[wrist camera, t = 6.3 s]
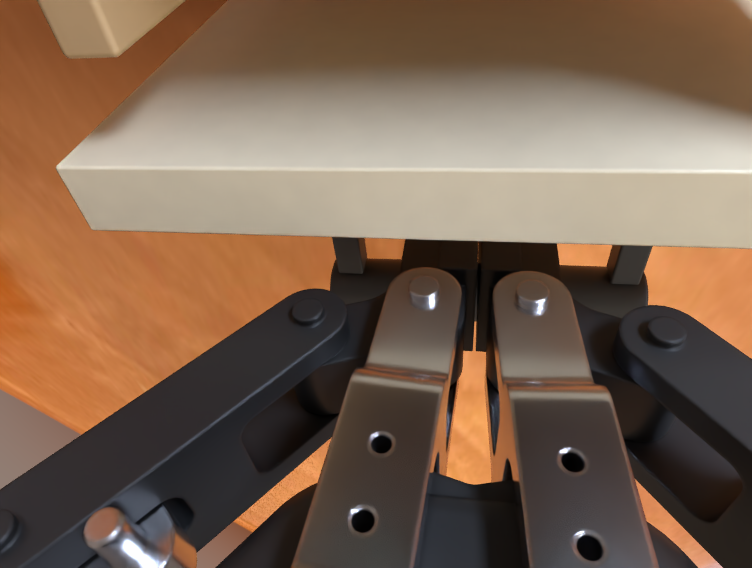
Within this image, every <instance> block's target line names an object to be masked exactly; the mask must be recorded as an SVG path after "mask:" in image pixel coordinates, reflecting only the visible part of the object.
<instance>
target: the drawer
mask: <svg viewBox="0 0 752 568" xmlns="http://www.w3.org/2000/svg"><path fill="white" fill-rule="evenodd" d="M185 1H186V0H37V2H38V4H39V6H40V8H41V10H42V12H43V14H44V16H45V18H46V20H47V22H48V24H49V26H50V28H51V30H52V32H53V34H54V36H55V38H56V40H57V42H58V44H59V46H60V48H61V50H62V52H63V54H64V55H65V56H66V57H67V58H70V59H77V58H108V57H118V56H120V55H121V54H122V53H123V52H125V51H126V50H127V49H128V48H129V47H131V46H132V45H133V44H134V43H135V42H137V41H138V40H139V39H140V38H141V37H143V36H144V35H145V34H146V33H147V32H149V31H150V30H151V29H152V28H153V27H155V26H156V25H157V24H158V23H159V22H161V21H162V20H163V19H164V18H165V17H167V16H168V15H169V14H170V13H171V12H173V11H174V10H175V9H176V8H177V7H179V6H180V5H181V4H182V3H183V2H185ZM56 170H57V172H58V173H59V175H60V177H61V178H62V180H63V182H64V184H65V185H66V187H67V189H68V190H69V192H70V194H71V195H72V197H73V199H74V201H75V202H76V204H77V206H78V207H79V209H80V211H81V213H82V214H83V216H84V218H85V219H86V221H87V223H88V224H89V226H90V228H91V229H92V230H103V231H138V232H174V233H209V234H244V235H280V236H315V237H332V239H333V244H334V250H335V255H336V261H335V263H334V266H333V269H332V274H331V282H330V291H331V292H333V293H335V294H337V295H338V296H339V297H340V298H341V299H342V300H343V301H344V303H345V305H346V304H351V303H356V302H361V301H365V300H369V299H372V298H375V297H377V296H379V295H381V294H383V293H385V292H386V291H387V290H388V287H389V285H390V283H391V282H392V280H393V279H394V278H395V277H396V276H398V275H399V273H400V268H401V262H402V260H397V259H368V258H367V253H366V246H365V238H386V239H421V240H456V241H492V242H527V243H562V244H598V245H612V249H611V252H610V256H609V259H608V263H607V267H597V266H568V265H560V272H561V279H562V283H563V284H564V285H565V286H566V287H567V289H568V290H569V292H570V294H571V296H572V297H573V298H574V299H575V300H576V301H578V302H579V303H581V304H582V305H584V306H586V307H588V308H590V309H593V310H596V311H598V312H602V313H605V314H609V315H612V316H616V317H619V318H623V317H624V316H625V314H626V313H628V312H629V311H631V310H633V309H635V308H637V307H641V306H648V285H647V280H646V276H645V274H644V269H645V266H646V263H647V261H648V258H649V255H650V252H651V249H652V246H668V247H704V248H739V249H752V0H228V1H226V2H225V3H224V4H223V5H222V6H221V7H220V8H219V9H218V10H217V11H216V12H215V13H214V14H213V15H212V16H211V17H210V18H209V19H208V20H207V21H206V22H205V23H204V24H203V25H202V26H201V27H200V28H199V29H198V30H196V31H195V32H194V33H193V34H192V35H191V36H190V37H189V38H188V39H187V40H186V41H185V42H184V43H183V44H182V45H181V46H180V47H179V48H178V49H177V50H176V51H175V52H174V53H173V54H172V55H171V56H170V57H169V58H168V59H167V60H165V61H164V62H163V63H162V64H161V65H160V66H159V67H158V68H157V69H156V70H155V71H154V72H153V73H152V74H151V75H150V76H149V77H148V78H147V79H146V80H145V81H144V82H143V83H142V84H141V85H140V86H139V87H138V88H137V89H135V90H134V91H133V92H132V93H131V94H130V95H129V96H128V97H127V98H126V99H125V100H124V101H123V102H122V103H121V104H120V105H119V106H118V107H117V108H116V109H115V110H114V111H113V112H112V113H111V114H110V115H109V116H108V117H107V118H106V119H104V120H103V121H102V122H101V123H100V124H99V125H98V126H97V127H96V128H95V129H94V130H93V131H92V132H91V133H90V134H89V135H88V136H87V137H86V138H85V139H84V140H83V141H82V142H81V143H80V144H79V145H78V146H77V147H76V148H74V149H73V150H72V151H71V152H70V153H69V154H68V155H67V156H66V157H65V158H64V159H63V160H62V161H61V162H60V163H59V164H58V165H57V166H56ZM477 281H478V267H477ZM474 321H477V285H476V302H475V319H474Z"/></svg>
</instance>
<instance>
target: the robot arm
mask: <svg viewBox="0 0 752 568" xmlns="http://www.w3.org/2000/svg"><path fill="white" fill-rule="evenodd" d="M477 267H478V281H477ZM476 285H477V322H476V351H482V352H486V373H485V397H486V409H487V421H488V433H489V445H490V457H491V483H485V484H478V485H472V484H467V483H464V482H461V481H458V480H455V479H453V478H450V477H447V476H446V472H447V462H448V455H449V448H450V441H451V434H452V427H453V420H454V413H455V406H456V399H457V392H458V385H459V377H460V375H461V372H462V367H463V351H473V335H474V319H475V302H476ZM331 437H332V439H331V442H330V445H329V448H328V451H327V454H326V458H325V461H324V464H323V467H322V470H321V474H320V477H319V480H318V483H316V484H314V485H311V486H310V487H308V488H306V489H304V490H302V491H301V492H299V493H297V494H296V495H295V496H293V497H292V498H291V499H289V500H288V501H286V502H285V503H284V504H283V505H282V506H281V507H279V508H278V509H277V510H276V511H275V512H274V513H273V514H272V515H271V516H270V517H269V518H268V519H267V520H266V521H264V522H263V523H262V524H261V525H260V526H259V527H258V528H257V529H256V530H255V531H254V532H253V533H252V534H251V535H250V536H249V537H248V538H247V539H246V540H244V541H243V542H242V544H240V545H239V546H238V547H237V548H236V549H235V550H234V551H233V552H232V553H231V554H229V555H228V556H227V557H226V558H225V559H224V560H223V561H222V562H221V563H220V564H219V565H218V566H217V567H216V568H698V567H697V566H696V565H695V564H694V563H693V562H692V561H691V560H690V558H689V557H688V556H687V555H686V554H685V553H684V552H683V551H682V550H681V549H680V548H679V547H678V546H677V545H676V544H675V543H673V542H672V541H671V540H670V539H669V538H668V537H667V536H666V535H665V534H663V533H662V532H661V531H659V530H658V529H657V528H655V527H654V526H652V525H651V524H650V523H648V522H647V521H646V518H645V515H644V511H643V507H642V504H641V500H640V497H639V493H638V489H637V486H636V482H635V479H636V480H637V481H638V482H639V483H640V484H641V485H642V486H643V487H644V488H645V489H646V490H647V491H648V492H649V493H650V494H651V495H652V496H653V497H654V498H655V499H656V500H657V501H658V502H659V503H660V504H661V505H662V506H663V507H664V508H665V509H666V510H667V511H668V512H669V513H670V514H671V516H672V517H673V518H674V519H675V520H676V521H677V522H678V523H679V524H680V525H681V526H682V527H683V528H684V529H685V530H686V531H687V532H688V533H689V534H690V535H691V536H692V537H693V538H694V539H695V540H696V541H697V542H698V543H699V544H700V545H701V546H702V547H703V548H704V549H705V550H706V551H707V552H708V553H709V554H710V555H711V556H712V557H713V558H714V559H715V560H716V561H717V562H718V563H719V564H720V565H721V566H722V567H723V568H752V359H751V358H749V357H748V356H747V355H745V354H744V353H742V352H741V351H739V350H738V349H737V348H735V347H734V346H732V345H731V344H729V343H728V342H727V341H725V340H724V339H722V338H721V337H720V336H718V335H717V334H715V333H714V332H712V331H711V330H710V329H708V328H707V327H705V326H704V325H703V324H701V323H700V322H698V321H697V320H695V319H694V318H692V317H691V316H689V315H688V314H686V313H684V312H681V311H679V310H676V309H673V308H670V307H666V306H658V305H648V306H641V307H637V308H635V309H633V310H631V311H629V312H628V313H626V314H625V316H624V317H623V318H619V317H616V316H612V315H609V314H605V313H602V312H598V311H596V310H593V309H590V308H588V307H586V306H584V305H582V304H581V303H579V302H578V301H576V300H575V299H574V298H573V297H572V296H571V294H570V292H569V290H568V289H567V287H566V286H565V285H564V284H563V283H562V279H561V272H560V265H559V257H558V250H557V243H527V242H492V241H456V240H421V239H405V245H404V251H403V256H402V262H401V268H400V273H399V275H398V276H396V277H395V278H394V279H393V280H392V282H391V283H390V285H389V287H388V290H387V291H386V292H385V293H383V294H381V295H379V296H377V297H375V298H372V299H369V300H365V301H361V302H356V303H351V304H346V305H345V303H344V301H343V300H342V299H341V298H340V297H339V296H338V295H337V294H335V293H333V292H331V291H328V290H324V289H307V290H302V291H299V292H296V293H294V294H292V295H290V296H288V297H286V298H285V299H283V300H282V301H281V302H279V303H278V304H276V305H275V306H273V307H272V308H270V309H269V310H267V311H266V312H264V313H263V314H261V315H260V316H258V317H257V318H255V319H254V320H252V321H251V322H249V323H248V324H246V325H245V326H243V327H242V328H240V329H239V330H237V331H236V332H234V333H233V334H231V335H230V336H228V337H227V338H225V339H224V340H222V341H221V342H219V343H218V344H216V345H215V346H213V347H212V348H210V349H209V350H207V351H206V352H204V353H203V354H201V355H200V356H198V357H197V358H196V359H194V360H193V361H191V362H190V363H188V364H187V365H185V366H184V367H182V368H181V369H179V370H178V371H176V372H175V373H173V374H172V375H170V376H169V377H167V378H166V379H164V380H163V381H161V382H160V383H158V384H157V385H155V386H154V387H152V388H151V389H149V390H148V391H146V392H145V393H143V394H142V395H140V396H139V397H137V398H136V399H134V400H133V401H131V402H130V403H128V404H127V405H125V406H124V407H122V408H121V409H119V410H118V411H116V412H115V413H113V414H112V415H111V416H109V417H108V418H106V419H105V420H103V421H102V422H100V423H99V424H97V425H96V426H94V427H93V428H91V429H90V430H88V431H87V432H85V433H84V434H82V435H81V436H79V437H78V438H76V439H75V440H73V441H72V442H71V443H69V444H67V445H66V446H65V447H63V448H61V449H60V450H58V451H57V452H55V453H54V454H52V455H51V456H49V457H48V458H46V459H45V460H44V461H42V462H40V463H39V464H37V465H36V466H34V467H33V468H31V469H30V470H28V471H27V472H26V473H24V474H23V475H21V476H20V477H18V478H17V479H15V480H14V481H12V482H11V483H9V484H8V485H6V486H5V487H3V488H2V489H1V490H0V568H196V566H197V554H196V553H197V552H198V551H199V550H200V549H201V548H203V547H204V546H205V545H206V544H207V543H209V542H210V541H211V540H212V539H213V538H214V537H216V536H217V535H218V534H219V533H220V532H221V531H222V530H224V529H225V528H226V527H227V526H228V525H230V524H231V523H232V522H233V521H234V520H235V519H237V518H238V517H239V516H240V515H241V514H242V513H244V512H245V511H246V510H247V509H248V508H249V507H251V506H252V505H253V504H254V503H255V502H256V501H258V500H259V499H260V498H261V497H262V496H263V495H265V494H266V493H267V492H268V491H269V490H270V489H272V488H273V487H274V486H275V485H276V484H277V483H279V482H280V481H281V480H282V479H283V478H284V477H286V476H287V475H288V474H289V473H290V472H291V471H293V470H294V469H295V468H296V467H297V466H298V465H300V464H301V463H302V462H303V461H304V460H305V459H307V458H308V457H309V456H310V455H311V454H312V453H314V452H315V451H316V450H317V449H318V448H319V447H321V446H322V445H323V444H324V443H325V442H326V441H328V440H329V439H330V438H331ZM634 478H635V479H634Z"/></svg>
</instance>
